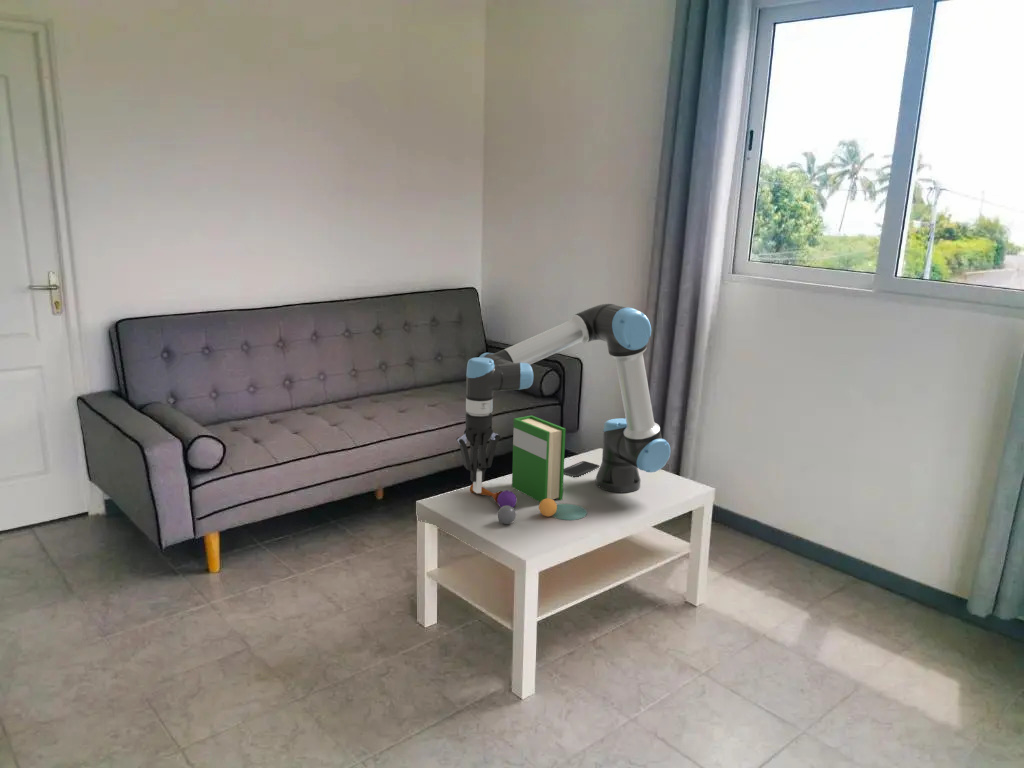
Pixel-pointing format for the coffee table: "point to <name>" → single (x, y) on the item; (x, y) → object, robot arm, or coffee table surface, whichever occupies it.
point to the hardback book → (538, 458)
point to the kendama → (499, 496)
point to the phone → (580, 469)
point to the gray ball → (506, 514)
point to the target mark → (569, 512)
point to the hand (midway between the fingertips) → (477, 491)
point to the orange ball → (547, 507)
